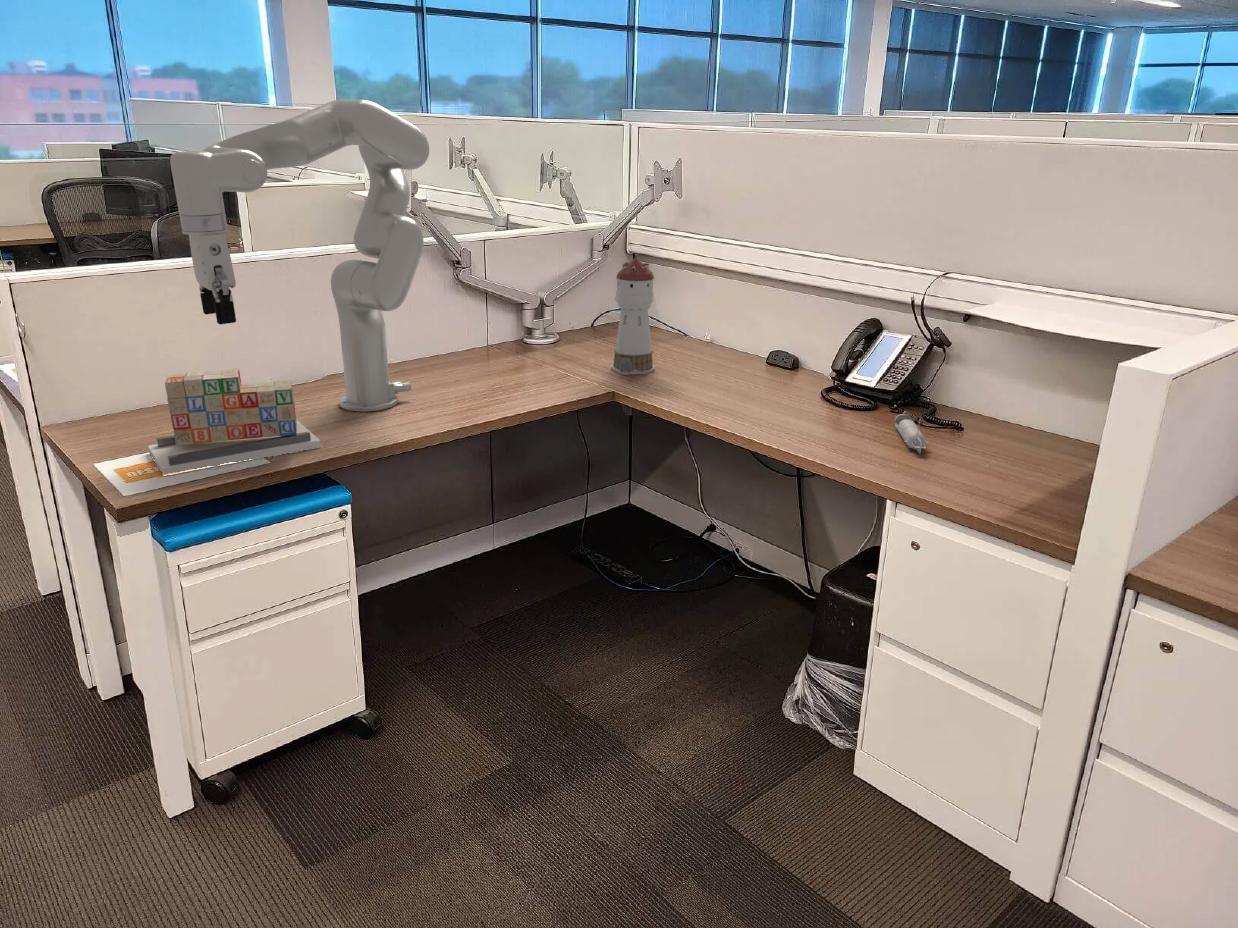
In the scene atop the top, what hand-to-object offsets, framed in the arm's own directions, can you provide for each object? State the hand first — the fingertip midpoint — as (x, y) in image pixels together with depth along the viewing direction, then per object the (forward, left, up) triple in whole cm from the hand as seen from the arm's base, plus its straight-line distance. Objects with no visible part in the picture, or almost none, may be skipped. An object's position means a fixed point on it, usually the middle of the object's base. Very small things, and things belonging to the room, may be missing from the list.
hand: (219, 318), depth 167 cm
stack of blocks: (+1, +5, -22) cm, 22 cm away
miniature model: (-99, -3, -25) cm, 102 cm away
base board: (+1, +5, -25) cm, 25 cm away
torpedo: (-115, +71, -25) cm, 138 cm away
